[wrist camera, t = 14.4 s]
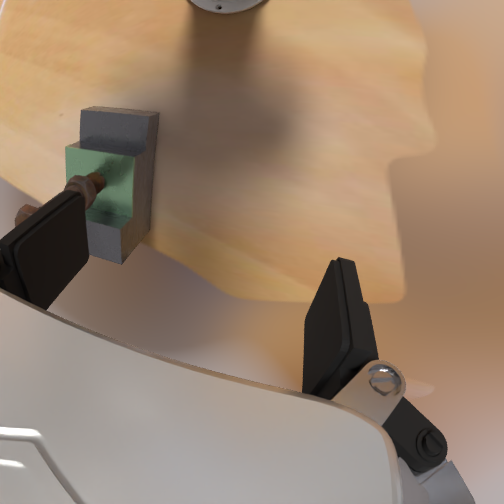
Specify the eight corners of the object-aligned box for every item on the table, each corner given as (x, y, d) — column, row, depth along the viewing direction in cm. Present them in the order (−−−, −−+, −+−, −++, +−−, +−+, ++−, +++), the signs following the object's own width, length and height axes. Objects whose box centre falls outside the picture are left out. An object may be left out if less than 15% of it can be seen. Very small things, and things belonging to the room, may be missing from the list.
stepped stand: (92, 106, 40) (49, 119, 31) (159, 112, 40) (123, 126, 31) (91, 214, 51) (58, 244, 42) (150, 229, 51) (121, 264, 42)
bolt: (118, 194, 40) (53, 252, 27) (93, 202, 41) (30, 258, 28) (102, 156, 37) (28, 204, 24) (78, 167, 38) (7, 215, 26)
